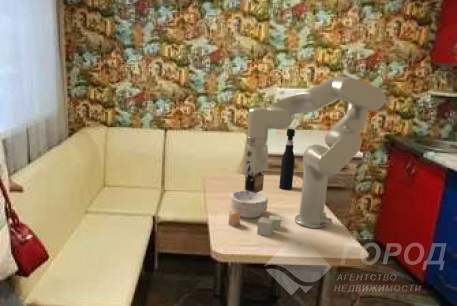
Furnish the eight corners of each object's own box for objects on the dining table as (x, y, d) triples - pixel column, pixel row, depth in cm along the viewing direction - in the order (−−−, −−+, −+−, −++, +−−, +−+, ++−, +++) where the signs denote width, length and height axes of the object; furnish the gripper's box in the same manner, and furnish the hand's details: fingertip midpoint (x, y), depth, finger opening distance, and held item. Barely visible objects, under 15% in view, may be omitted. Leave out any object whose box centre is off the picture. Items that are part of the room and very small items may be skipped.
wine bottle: (292, 190, 209) (298, 130, 202) (279, 189, 209) (285, 130, 202) (291, 186, 215) (296, 128, 208) (278, 185, 215) (283, 127, 208)
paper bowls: (246, 224, 164) (248, 204, 162) (222, 211, 175) (223, 193, 173) (274, 216, 174) (275, 198, 172) (249, 205, 185) (250, 187, 183)
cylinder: (242, 224, 163) (243, 212, 162) (235, 227, 160) (236, 215, 159) (233, 221, 166) (233, 209, 165) (226, 224, 162) (227, 212, 161)
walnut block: (262, 190, 160) (263, 174, 159) (255, 193, 156) (256, 177, 155) (251, 187, 163) (252, 172, 161) (244, 190, 159) (245, 174, 157)
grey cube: (273, 231, 158) (274, 219, 157) (270, 236, 154) (271, 224, 153) (260, 229, 160) (261, 217, 159) (257, 234, 155) (258, 221, 154)
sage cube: (278, 225, 164) (279, 216, 163) (279, 229, 161) (280, 220, 160) (268, 224, 165) (269, 215, 164) (269, 229, 161) (269, 219, 160)
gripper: (253, 146, 146) (250, 196, 150) (277, 139, 160) (273, 185, 164) (235, 143, 150) (232, 191, 154) (260, 136, 164) (257, 181, 168)
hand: (253, 188), depth 159 cm, fingers closed on walnut block, 5 cm apart
